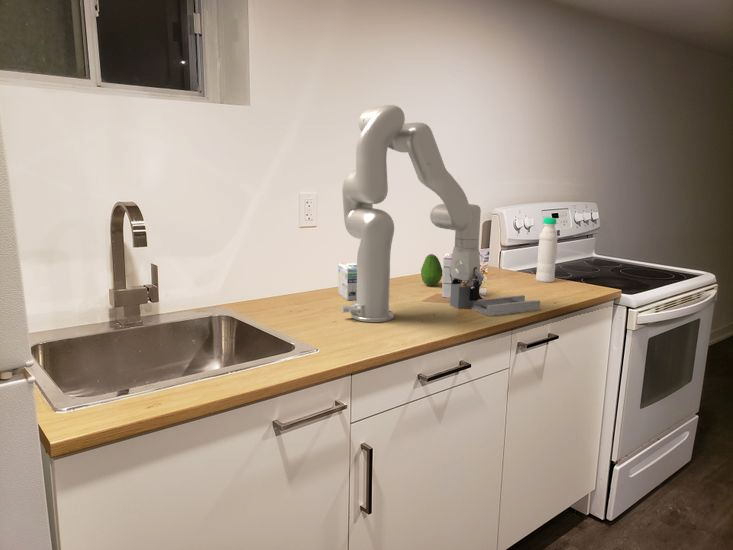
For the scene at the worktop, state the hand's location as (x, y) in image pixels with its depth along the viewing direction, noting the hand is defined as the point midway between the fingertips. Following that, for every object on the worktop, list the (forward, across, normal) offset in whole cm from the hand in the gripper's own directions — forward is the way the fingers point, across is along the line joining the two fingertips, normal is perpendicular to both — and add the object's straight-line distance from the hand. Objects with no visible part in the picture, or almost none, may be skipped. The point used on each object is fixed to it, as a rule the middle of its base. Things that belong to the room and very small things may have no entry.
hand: (464, 296), depth 179 cm
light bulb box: (+3, -25, -28) cm, 38 cm away
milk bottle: (+4, -22, +54) cm, 59 cm away
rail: (+3, +9, +10) cm, 14 cm away
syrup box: (+3, -13, +4) cm, 14 cm away
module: (+3, 0, 0) cm, 3 cm away
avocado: (+3, -30, +7) cm, 31 cm away
